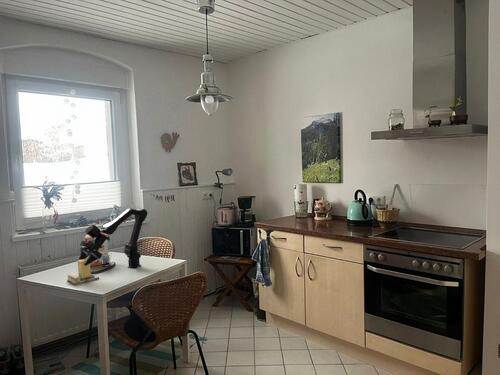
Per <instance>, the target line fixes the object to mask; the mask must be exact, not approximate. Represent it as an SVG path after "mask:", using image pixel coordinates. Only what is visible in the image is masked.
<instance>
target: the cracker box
mask: <svg viewBox="0 0 500 375" xmlns="http://www.w3.org/2000/svg"><path fill="white" fill-rule="evenodd" d="M105 235H106V236H108V234H105ZM84 239H85V240H84V241H86V242H87V241H88V240H89V241H94V240H95V238H92V237H90V236H89V235H88V234H85V236H84ZM108 247H109V246H108V240H106V241H105V242H104V243H103V245H102V248H100V249H99V250H98V252H100V253H101V254H102V257H103V256H108V257H109V248H108ZM102 257H101V258H100V259H99V258H98V259H97V260H95V261H93V262H92V263H90V267H93V266H102V265H101V264H102ZM88 258H89V255H88V257H87V258H86V259H88Z"/></svg>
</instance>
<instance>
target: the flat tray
mask: <svg viewBox="0 0 500 375" xmlns="http://www.w3.org/2000/svg"><path fill="white" fill-rule="evenodd" d="M97 280H100V277H99V276H96V275H94V274H93V273H92V274H91V276H90V277H87V278H83V279H81V278H80V277H79V275H75V274H73V273H70V274H67V280H66V282H68V283H70V284H72V285H74V286H78V285H81V284H85V283H90V282H94V281H97Z"/></svg>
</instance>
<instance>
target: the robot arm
mask: <svg viewBox="0 0 500 375" xmlns="http://www.w3.org/2000/svg"><path fill="white" fill-rule="evenodd" d="M132 215H133V216H134V217H133V218H134V224H133V229H132V232H131V236H130V239H129V242H128V244H127V243H126V244H125V245H124V249H123V251H124V252H123V253H124V254H125V255H126V256H127V258H128V260H127V261H128V266H127V268H129V269H138V268H140V267H141V266H142V264H141V263H140V258H141V257H142V254H141V253H140V252H139V251H138V249H139V247H138V240H139V237H140V233H141V230H142V227H143V226H142V225H143V223H144V222H145V221H146V219H147V216H148V211H147V209H145V208H137V209H134V208H126V209H125V211H123V212H122V213H121V214H120V215H118V217H116V218H114V220H112V221H110V222H108V223H106V224H103V225H102V227H98V226H97V225H96V224H92V223H91V225H89V226H88V227H87V228H86V229H85V235H89V236H90V237H92V238H95V240H94V241H89V240H88V241H87V242H86V241H85V240H81V241H80V244H79V245H80V248H79V252H80V255H79V258H78V260H82V259H87V257H88V255H89V258H88V259H87V261H86V262H85V264H84V265H85V266H87V265H88V264H90V263H92V262H93V261H95V260H97V259H98V258H99V259H100V258H101V257H102V254H101V253H100V252H98V250H99V249H100V248H102V245H103V243H104V242H105V241H106V240H107V242H108V241H109V242H110V241H111V239H110V238H111V237H110V235H113V234H115V232H116V231H117V229H118V228H119V226H120V225H121V224H123V223H124V222H126V220H127V219H128V218H130V217H131V216H132ZM105 234H107V236H106V235H105Z"/></svg>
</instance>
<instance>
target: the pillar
mask: <svg viewBox="0 0 500 375" xmlns="http://www.w3.org/2000/svg"><path fill="white" fill-rule="evenodd" d="M86 261H87V258H86V259H82V260H79V259H78V260H77V270H78V271H77V272H78V276H79V277H80V278H81V279H83V278H87V277H90V276H91V266H90V264H88V265H87V266H85V265H84V264H85V262H86Z"/></svg>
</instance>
